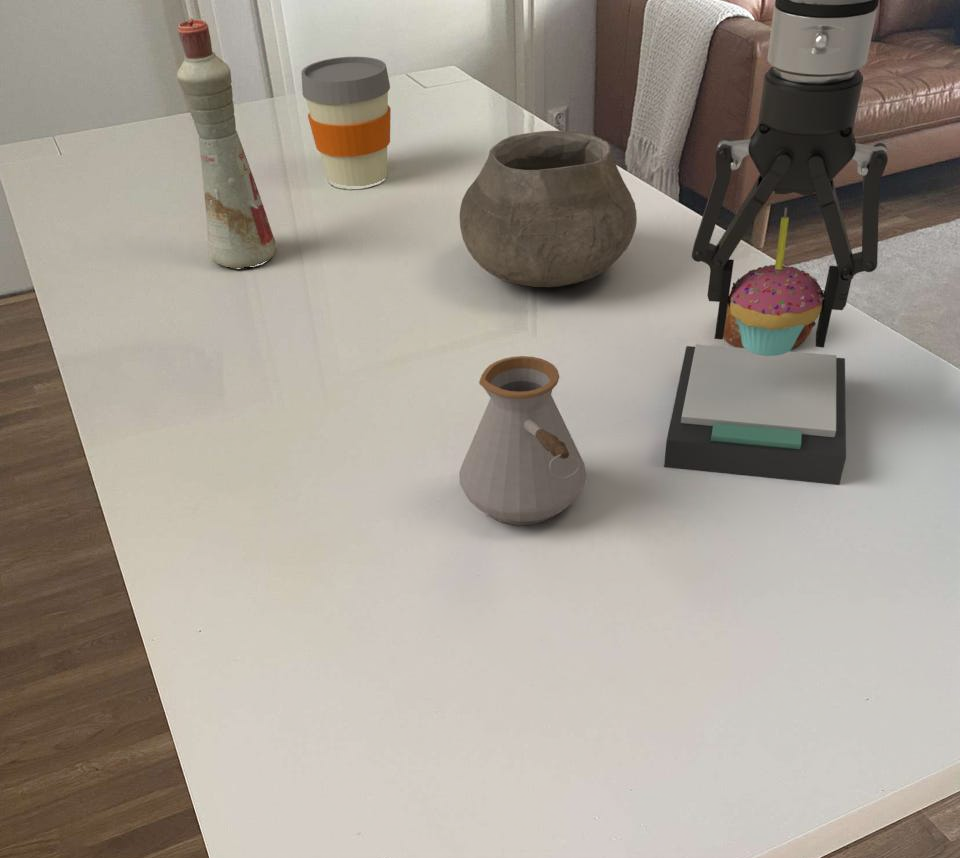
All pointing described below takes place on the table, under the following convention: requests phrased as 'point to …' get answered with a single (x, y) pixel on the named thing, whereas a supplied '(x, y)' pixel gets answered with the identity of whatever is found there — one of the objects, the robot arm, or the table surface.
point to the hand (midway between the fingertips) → (769, 336)
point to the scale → (759, 414)
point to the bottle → (222, 156)
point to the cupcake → (774, 303)
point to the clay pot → (548, 209)
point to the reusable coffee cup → (349, 117)
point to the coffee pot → (522, 446)
